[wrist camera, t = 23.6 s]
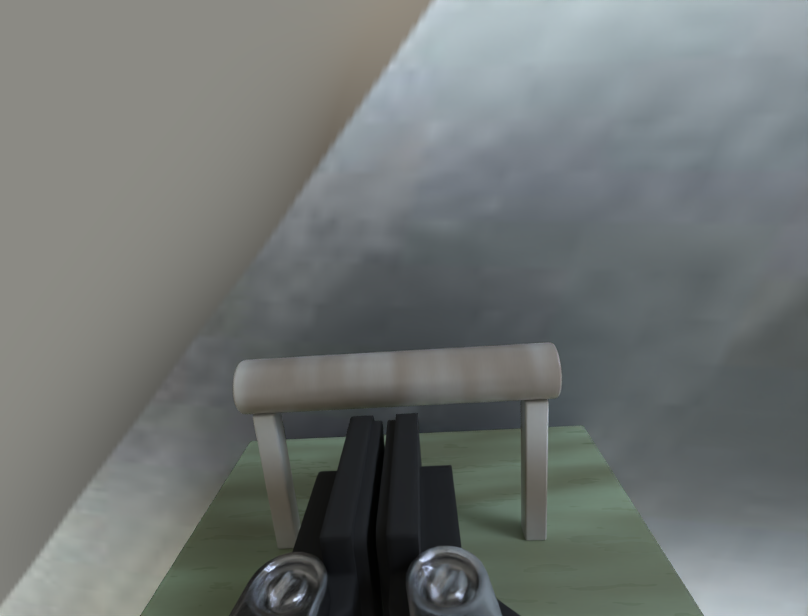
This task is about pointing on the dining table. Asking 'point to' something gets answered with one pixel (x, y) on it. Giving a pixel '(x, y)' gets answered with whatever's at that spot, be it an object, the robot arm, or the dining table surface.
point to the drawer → (473, 482)
